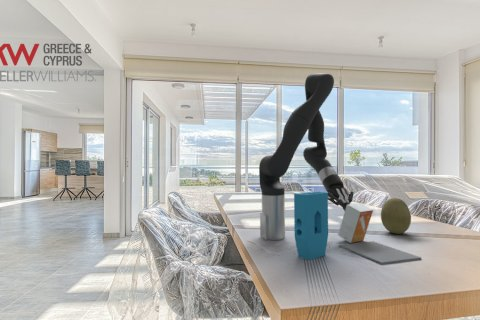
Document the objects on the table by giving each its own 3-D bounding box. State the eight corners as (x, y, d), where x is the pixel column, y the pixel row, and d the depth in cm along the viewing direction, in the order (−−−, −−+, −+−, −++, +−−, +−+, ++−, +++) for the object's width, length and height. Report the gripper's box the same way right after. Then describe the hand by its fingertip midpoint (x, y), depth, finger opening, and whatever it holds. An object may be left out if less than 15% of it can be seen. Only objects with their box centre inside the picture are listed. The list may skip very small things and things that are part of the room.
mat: (381, 264, 85) (381, 262, 85) (338, 246, 104) (338, 244, 104) (421, 259, 89) (421, 257, 89) (373, 243, 108) (373, 241, 108)
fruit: (377, 233, 124) (376, 198, 124) (385, 229, 132) (385, 195, 132) (407, 237, 116) (406, 200, 116) (414, 232, 124) (413, 197, 125)
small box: (350, 243, 108) (360, 211, 105) (337, 235, 113) (346, 204, 110) (364, 240, 112) (373, 209, 109) (350, 232, 117) (359, 202, 114)
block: (306, 261, 88) (305, 195, 89) (293, 257, 92) (292, 193, 93) (329, 253, 96) (328, 192, 96) (317, 250, 100) (316, 191, 100)
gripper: (320, 173, 121) (339, 207, 109) (347, 173, 125) (368, 205, 113) (313, 186, 126) (331, 219, 114) (339, 185, 130) (359, 217, 118)
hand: (349, 212), depth 113 cm, fingers closed
